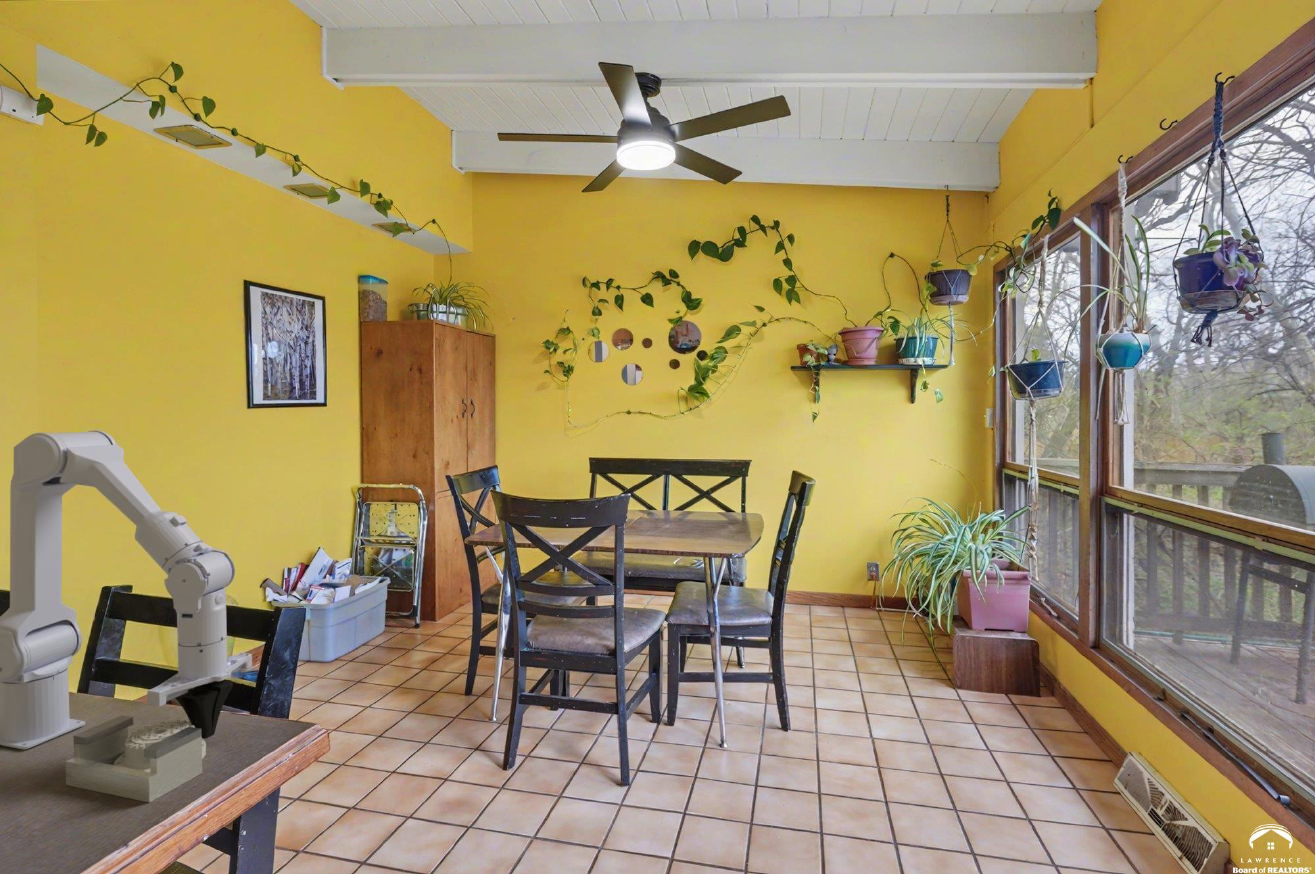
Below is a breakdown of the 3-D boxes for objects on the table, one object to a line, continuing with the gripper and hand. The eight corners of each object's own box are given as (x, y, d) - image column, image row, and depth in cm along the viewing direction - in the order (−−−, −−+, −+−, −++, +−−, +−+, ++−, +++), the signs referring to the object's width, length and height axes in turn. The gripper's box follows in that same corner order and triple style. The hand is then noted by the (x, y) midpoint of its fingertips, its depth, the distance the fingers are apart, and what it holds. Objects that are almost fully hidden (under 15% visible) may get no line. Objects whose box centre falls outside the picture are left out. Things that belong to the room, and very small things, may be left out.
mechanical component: (93, 778, 88) (157, 789, 86) (92, 744, 88) (156, 754, 86) (164, 742, 98) (224, 750, 96) (164, 711, 98) (223, 719, 96)
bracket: (66, 785, 86) (64, 739, 86) (122, 757, 93) (121, 715, 93) (149, 802, 83) (148, 755, 83) (202, 772, 90) (201, 728, 89)
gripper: (176, 661, 89) (178, 765, 89) (268, 626, 103) (269, 717, 103) (134, 655, 91) (136, 757, 91) (229, 622, 105) (231, 711, 105)
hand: (204, 735), depth 97 cm, fingers closed
